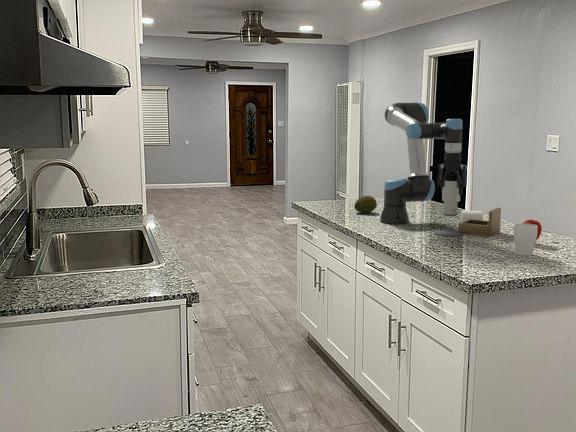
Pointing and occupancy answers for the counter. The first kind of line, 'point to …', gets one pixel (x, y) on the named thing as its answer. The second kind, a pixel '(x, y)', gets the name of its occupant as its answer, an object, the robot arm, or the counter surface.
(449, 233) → the mat
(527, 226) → the cup
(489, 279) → the counter surface
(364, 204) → the fruit
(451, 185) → the travel mug
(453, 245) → the counter surface
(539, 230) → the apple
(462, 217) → the mug
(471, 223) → the brown wooden open box
